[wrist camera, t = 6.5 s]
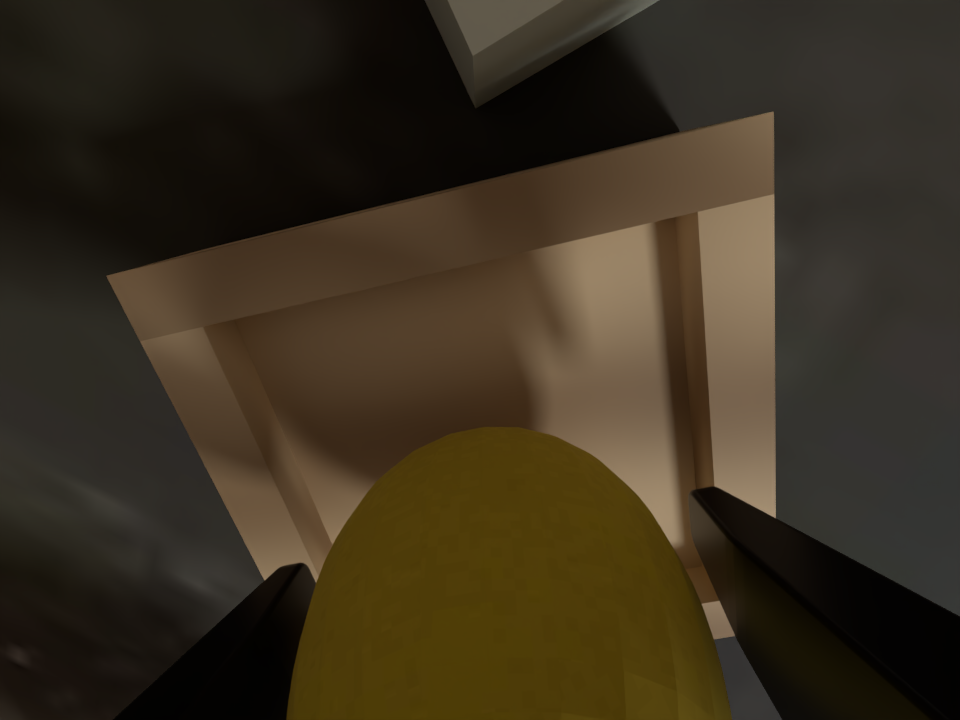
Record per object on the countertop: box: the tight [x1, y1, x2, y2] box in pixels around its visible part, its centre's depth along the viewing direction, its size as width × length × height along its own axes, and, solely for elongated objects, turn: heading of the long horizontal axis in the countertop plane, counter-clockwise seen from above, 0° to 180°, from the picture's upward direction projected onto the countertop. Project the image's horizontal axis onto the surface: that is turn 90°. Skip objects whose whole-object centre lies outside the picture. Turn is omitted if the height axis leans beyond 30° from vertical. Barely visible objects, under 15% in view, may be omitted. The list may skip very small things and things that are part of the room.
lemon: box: [286, 427, 732, 720], centre depth 7 cm, size 6×6×8 cm
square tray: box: [106, 112, 776, 639], centre depth 11 cm, size 11×11×4 cm
